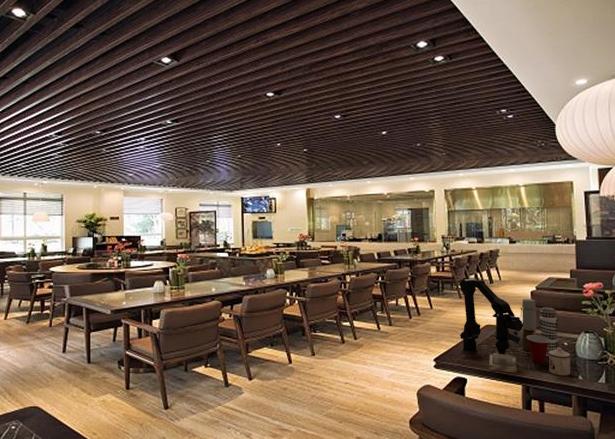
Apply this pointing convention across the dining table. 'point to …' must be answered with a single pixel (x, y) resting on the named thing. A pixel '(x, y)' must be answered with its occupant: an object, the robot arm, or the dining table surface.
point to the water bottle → (529, 314)
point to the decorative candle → (549, 327)
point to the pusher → (502, 359)
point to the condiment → (526, 340)
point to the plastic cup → (538, 347)
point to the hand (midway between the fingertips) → (502, 357)
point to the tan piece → (503, 368)
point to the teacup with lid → (559, 362)
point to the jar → (505, 352)
